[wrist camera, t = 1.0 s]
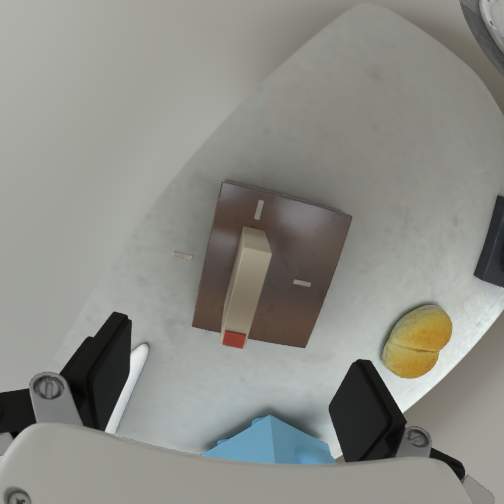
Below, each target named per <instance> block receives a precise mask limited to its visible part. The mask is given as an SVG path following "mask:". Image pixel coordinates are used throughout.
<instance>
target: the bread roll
mask: <svg viewBox="0 0 504 504" xmlns="http://www.w3.org/2000/svg"><path fill="white" fill-rule="evenodd" d="M451 334H452V323H451V320H450V317H449V316H448V315H447V313H446V312H445V311H444V310H443V309H442V308H441V307H439V306H436V305H425V306H421V307H419V308H417V309H415V310H413V311H411V312H409V313H408V314H406V315H405V316H403V317H402V318H401V319H400V320H399V321H398V323H397V324H396V325H395V327H394V328H393V330H392V332H391V334H390V338H389V340H388V341H387V342H386V344H385V346H384V350H383V354H382V362H383V365H384V366H385V367H386V368H387V369H389V370H390V371H392V372H393V373H394V374H396V375H397V376H399V377H401V378H410V379H412V378H417V377H420V376H422V375H424V374H426V373H427V372H428V371H430V370H431V369H432V368H433V367H434V365H435V364H436V361H437V359H438V355H439V350H441V349H442V348H443V347H444V346H445V345H446V344H447V343H448V342H449V340H450V338H451Z"/></svg>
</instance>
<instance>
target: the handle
mask: <svg viewBox="0 0 504 504" xmlns="http://www.w3.org/2000/svg"><path fill="white" fill-rule="evenodd" d="M271 256H272V252H271V249H270V246H269V243H268V240H267V237H266V234H265V231H262V230H258V229H254V228H250V227H245V226H244V227H243V230H242V234H241V238H240V242H239V246H238V250H237V254H236V258H235V262H234V266H233V270H232V274H231V278H230V283H229V287H228V291H227V295H226V299H225V303H224V310H223V318H222V326H221V335H220V345H225V346H230V347H235V348H240V349H244V348H245V345H246V342H247V338H248V335H249V332H250V328H251V325H252V321H253V318H254V315H255V311H256V308H257V305H258V301H259V298H260V294H261V291H262V287H263V284H264V280H265V277H266V274H267V270H268V267H269V263H270V260H271Z"/></svg>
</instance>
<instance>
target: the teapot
mask: <svg viewBox="0 0 504 504" xmlns="http://www.w3.org/2000/svg"><path fill="white" fill-rule="evenodd" d="M251 424H252V426H251V427H249V428H247V429H246V430H244V431H242V432H241V433H239V434H237V435H236V436H234V437H232V438H230V439H222V440H219V441H218V442H217V446H216V447H214V448H212V449H210V450H209V451H207V452H205V453H203V454H201V455H203V456H209V457H216V458H223V459H231V460H239V461H249V462H262V463H280V464H329V463H336V461H335V460H334V458H333V457H332V456H331V453H330V450H329V446H328V444H327V443H325V442H322V441H320V440H318V439H316V438H314V437H312V436H310V435H308V434H306V433H304V432H302V431H300V430H298V429H296V428H294V427H292V426H290V425H288V424H286V423H284V422H283V421H281V420H279V419H277V418H275V417H273V416H272V415H268V416H267V417H259V418H256V419H254V420H253V421H252V423H251Z"/></svg>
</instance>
